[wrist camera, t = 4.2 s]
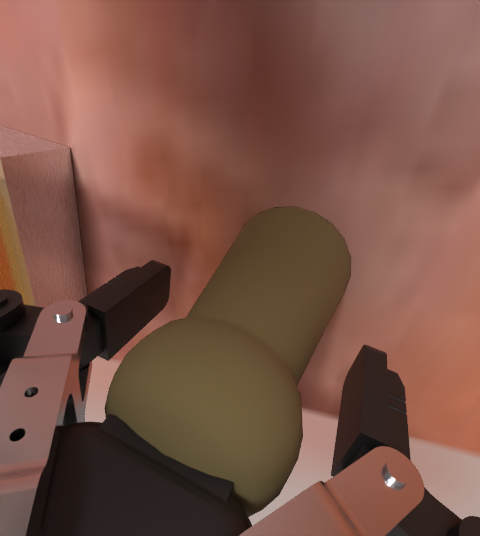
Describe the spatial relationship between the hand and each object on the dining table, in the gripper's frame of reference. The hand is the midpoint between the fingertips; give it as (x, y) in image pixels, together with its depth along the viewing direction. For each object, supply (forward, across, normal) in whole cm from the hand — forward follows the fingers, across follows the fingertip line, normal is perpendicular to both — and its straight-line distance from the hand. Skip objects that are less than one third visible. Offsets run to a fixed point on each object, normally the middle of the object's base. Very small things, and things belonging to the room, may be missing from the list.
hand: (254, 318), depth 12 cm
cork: (+5, 0, 0) cm, 5 cm away
